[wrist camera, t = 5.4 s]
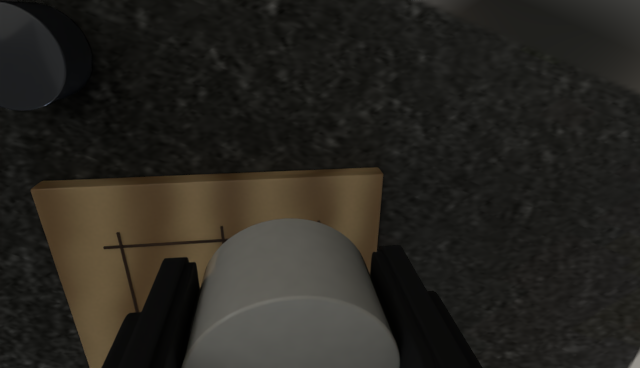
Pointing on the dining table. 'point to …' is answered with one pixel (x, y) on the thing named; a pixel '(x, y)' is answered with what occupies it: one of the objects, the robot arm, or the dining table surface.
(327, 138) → the dining table surface
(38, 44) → the hockey puck
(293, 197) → the board
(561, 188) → the dining table surface
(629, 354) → the dining table surface
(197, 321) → the white stone
